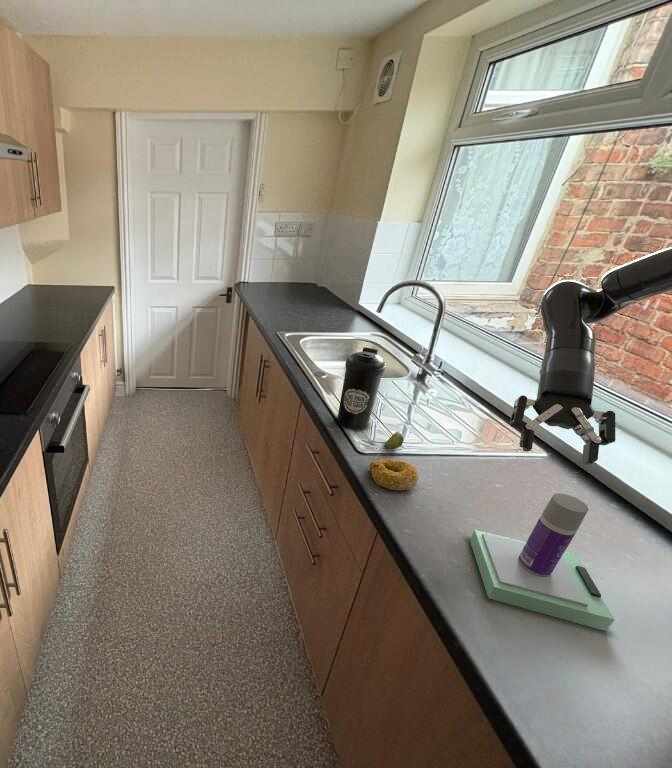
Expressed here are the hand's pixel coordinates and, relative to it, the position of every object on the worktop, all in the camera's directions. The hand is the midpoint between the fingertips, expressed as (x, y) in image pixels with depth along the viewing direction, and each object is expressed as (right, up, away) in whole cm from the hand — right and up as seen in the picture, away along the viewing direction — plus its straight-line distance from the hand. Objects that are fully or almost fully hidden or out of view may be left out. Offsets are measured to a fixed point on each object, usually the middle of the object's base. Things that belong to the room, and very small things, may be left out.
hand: (556, 457), depth 76 cm
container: (-5, -20, -1) cm, 20 cm away
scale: (-5, -23, 0) cm, 23 cm away
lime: (-9, -4, +37) cm, 39 cm away
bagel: (-16, -10, +26) cm, 32 cm away
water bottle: (-15, +2, +49) cm, 51 cm away
